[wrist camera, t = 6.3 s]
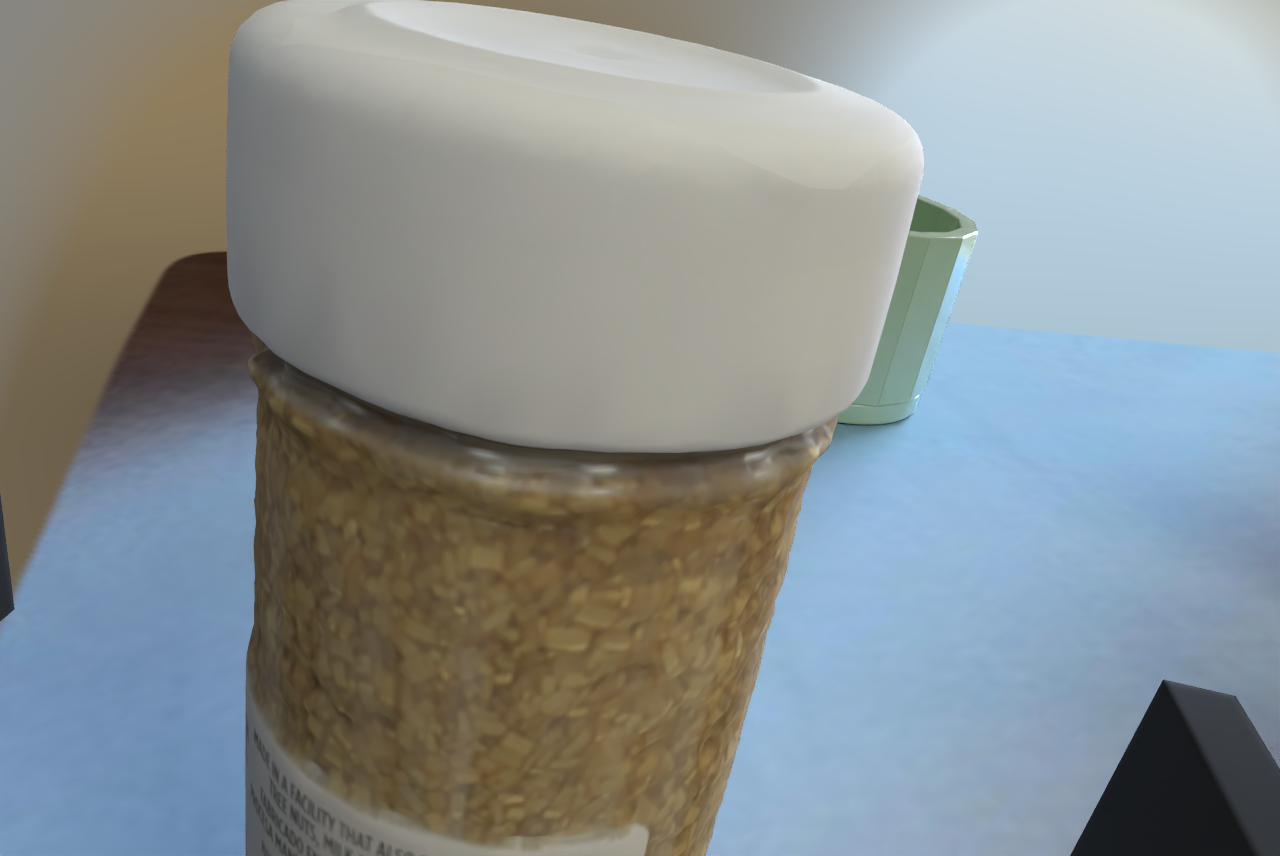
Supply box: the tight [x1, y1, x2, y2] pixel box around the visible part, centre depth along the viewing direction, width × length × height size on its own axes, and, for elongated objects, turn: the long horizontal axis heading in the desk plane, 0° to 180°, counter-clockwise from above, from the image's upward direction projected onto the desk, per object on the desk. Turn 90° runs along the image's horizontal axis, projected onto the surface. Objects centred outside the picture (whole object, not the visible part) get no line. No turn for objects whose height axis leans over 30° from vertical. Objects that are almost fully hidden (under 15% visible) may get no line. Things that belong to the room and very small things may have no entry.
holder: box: [837, 195, 978, 425], centre depth 38 cm, size 8×8×7 cm
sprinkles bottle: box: [226, 0, 924, 856], centre depth 10 cm, size 5×5×14 cm
